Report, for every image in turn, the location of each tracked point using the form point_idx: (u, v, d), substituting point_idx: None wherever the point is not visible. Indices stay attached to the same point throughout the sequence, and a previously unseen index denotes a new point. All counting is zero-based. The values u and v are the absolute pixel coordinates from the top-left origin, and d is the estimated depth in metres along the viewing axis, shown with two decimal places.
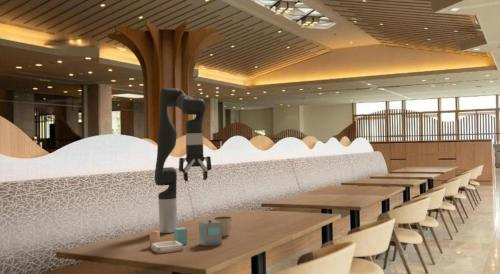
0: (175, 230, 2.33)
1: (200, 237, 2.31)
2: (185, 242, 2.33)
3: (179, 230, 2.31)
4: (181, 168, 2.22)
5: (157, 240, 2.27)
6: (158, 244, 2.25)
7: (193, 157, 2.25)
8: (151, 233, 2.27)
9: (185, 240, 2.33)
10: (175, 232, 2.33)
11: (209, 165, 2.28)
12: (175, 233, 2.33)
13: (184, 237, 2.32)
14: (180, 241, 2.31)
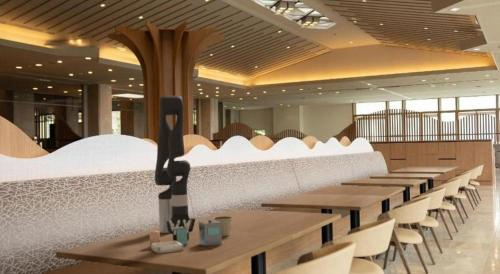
0: None
1: (200, 237, 2.31)
2: (185, 242, 2.33)
3: (180, 230, 2.31)
4: (170, 231, 2.31)
5: (157, 240, 2.27)
6: (158, 244, 2.25)
7: (178, 218, 2.33)
8: (151, 233, 2.27)
9: (185, 240, 2.33)
10: None
11: (191, 227, 2.35)
12: None
13: (184, 237, 2.32)
14: (180, 241, 2.31)
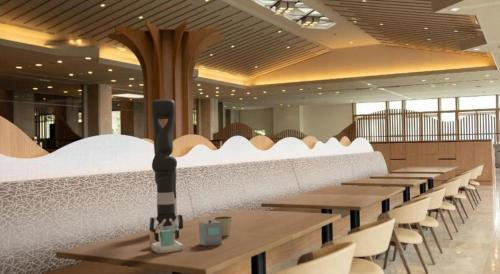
0: (161, 233, 2.21)
1: (200, 237, 2.31)
2: (171, 245, 2.21)
3: (166, 233, 2.20)
4: (152, 228, 2.18)
5: None
6: (158, 244, 2.25)
7: (164, 216, 2.21)
8: (151, 233, 2.27)
9: (171, 243, 2.21)
10: (161, 235, 2.21)
11: (181, 224, 2.24)
12: (161, 236, 2.21)
13: (171, 240, 2.20)
14: (166, 244, 2.20)
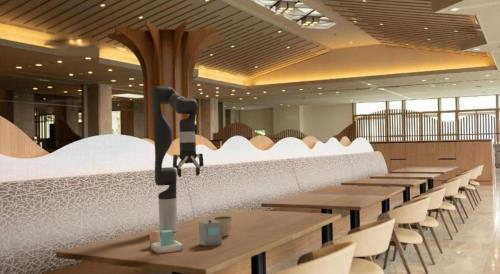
0: (161, 233, 2.21)
1: (200, 237, 2.31)
2: (171, 245, 2.21)
3: (166, 233, 2.20)
4: (175, 164, 2.36)
5: (157, 240, 2.27)
6: (158, 244, 2.25)
7: (186, 154, 2.39)
8: (151, 233, 2.27)
9: (171, 243, 2.21)
10: (161, 235, 2.21)
11: (201, 162, 2.42)
12: (161, 236, 2.21)
13: (171, 240, 2.20)
14: (166, 244, 2.20)
